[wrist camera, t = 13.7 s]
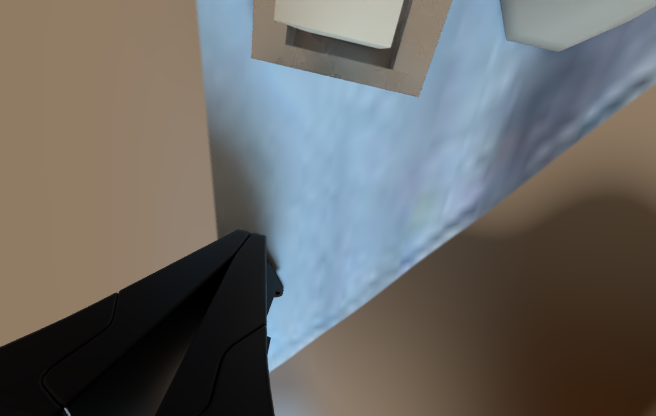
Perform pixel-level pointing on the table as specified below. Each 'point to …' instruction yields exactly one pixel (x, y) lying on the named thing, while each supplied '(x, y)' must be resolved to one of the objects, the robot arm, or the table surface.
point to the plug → (343, 19)
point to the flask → (566, 20)
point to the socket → (356, 48)
